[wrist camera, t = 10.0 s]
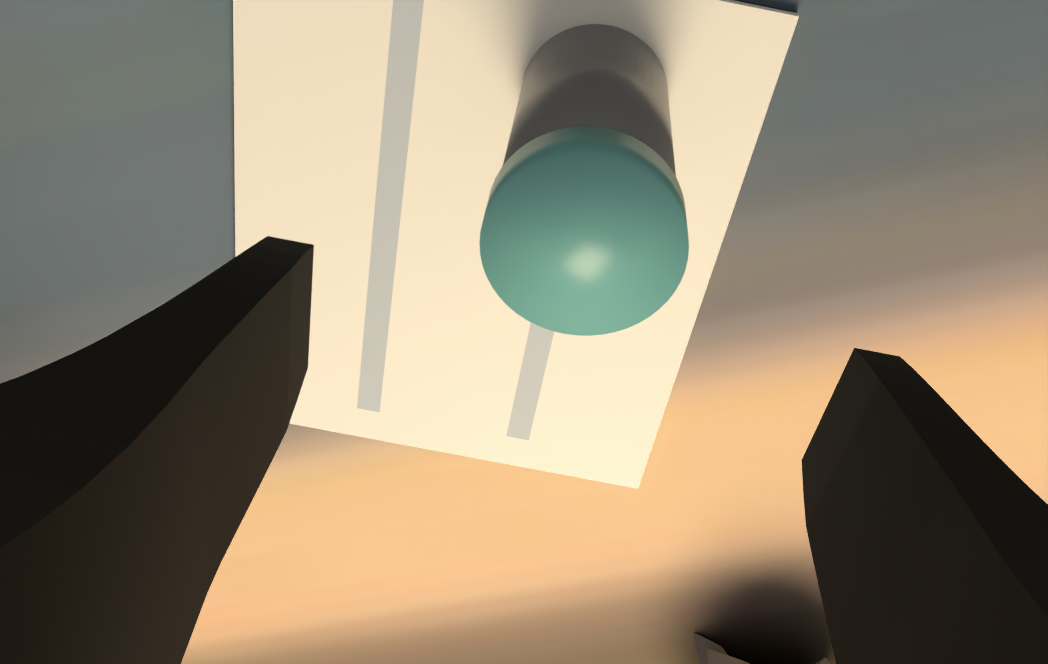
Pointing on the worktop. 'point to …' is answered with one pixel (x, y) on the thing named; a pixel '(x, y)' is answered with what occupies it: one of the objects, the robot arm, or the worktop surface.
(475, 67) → the paper
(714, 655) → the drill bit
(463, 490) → the worktop surface
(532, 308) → the marker
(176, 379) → the robot arm
